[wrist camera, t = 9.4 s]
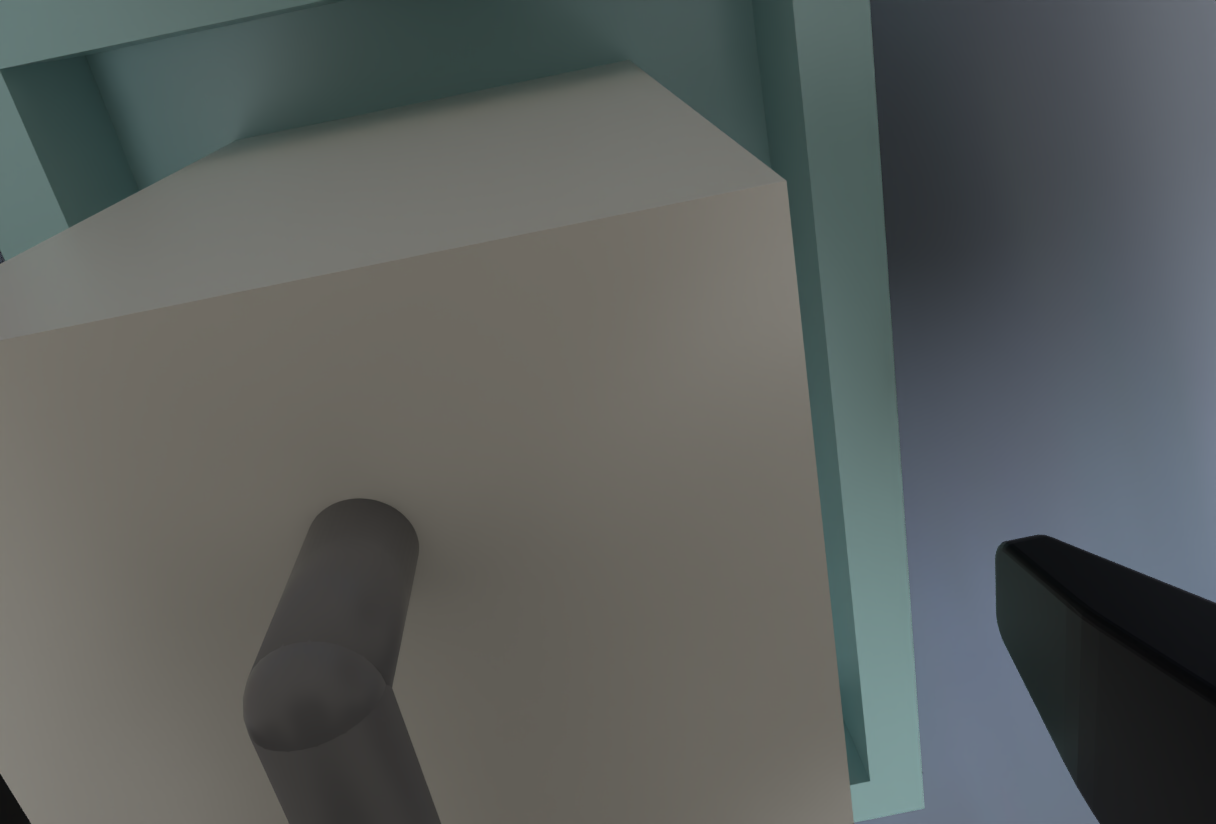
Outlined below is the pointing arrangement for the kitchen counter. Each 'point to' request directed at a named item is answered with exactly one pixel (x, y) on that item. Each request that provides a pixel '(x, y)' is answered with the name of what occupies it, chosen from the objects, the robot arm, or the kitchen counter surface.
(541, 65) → the tray
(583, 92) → the white handled drawer
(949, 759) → the kitchen counter surface
